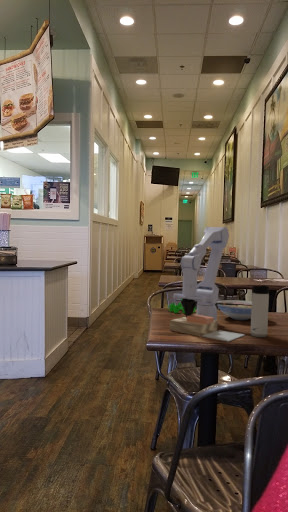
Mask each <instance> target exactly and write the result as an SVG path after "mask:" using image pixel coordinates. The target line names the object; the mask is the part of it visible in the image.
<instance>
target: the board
mask: <svg viewBox="0 0 288 512" xmlns="http://www.w3.org/2000/svg"><path fill="white" fill-rule="evenodd" d="M186 320H187V318H186V316H183V317H179V318H178V317H177V318H175V319H174V318H173V319H170V320H169V331H172V332H178V333H182V334H186V335H192V336H196V337H202V335H205V334H208V333H212V332H215V331H218V326H219V325H218V324H219V321H218V320H217V321H216V320H214V322H213V323H209V324H201V323H195V322H189V321H186Z"/></svg>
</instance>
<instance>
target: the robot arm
mask: <svg viewBox="0 0 288 512" xmlns="http://www.w3.org/2000/svg"><path fill="white" fill-rule="evenodd" d="M229 237H230V234H229V229H228V227H226V226H207V227H205V228H204V230H203V237H202V238H201V240H200V242H199V243H197V244H194V246H193V247H192V249H191V250H189V252H188V254H186V255H185V254H184V256H182V258H181V259H180V267H181V272H182V293H173V295H172V298H173V299H175V300H176V299H178V300H180V299H183V300H180V303H181V305H182V307H183V308H184V311H185V313H184V315H185V316H184V317H186V318H187V316H189V315H193V314H194V313H193V312H194V311H193V310H194V308H195V309H196V315H202V316H208V317H214V320H216V321H218V320H217V315H218V309H217V306H216V305H217V304H216V302H217V301H219V293H220V292H219V291H220V289H219V287H218V286H217V284H215V282H216V281H217V280H216V279H217V275H218V271H219V268H220V265H221V264H220V263H221V260H222V255H223V252H224V249H225V248H227V245H228V241H229ZM208 247H209V248H210V250H211V251H210V255H209V258H208V262H207V265H206V268H205V272H204V276H203V280H201V282H200V281H199V283H198V270H199V269H200V267H201V265H202V264H201V263H202V262H203V261H202V259H204V257H205V255H206V254H207V248H208ZM195 306H196V307H195Z"/></svg>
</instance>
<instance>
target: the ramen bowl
mask: <svg viewBox="0 0 288 512" xmlns="http://www.w3.org/2000/svg"><path fill="white" fill-rule="evenodd" d="M215 305H217V307H218V308H219V310H220V311H221V312H222V314H224V315H225V316H227V317H229V318H231V319H233V320H236V321H248V320H249V319H250V320H251V311H252V301H249V300H238V299H237V300H232V299H230V300H229V299H227V300H218V301H217V302H216V304H215ZM270 307H271V305H268V308H270Z"/></svg>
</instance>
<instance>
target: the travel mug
mask: <svg viewBox="0 0 288 512" xmlns="http://www.w3.org/2000/svg"><path fill="white" fill-rule="evenodd" d="M251 291H252V292H251V302H252V311H251V318H250V336H252V337H255V338H266V337H267V336H268V327H269V326H268V323H269V322H268V319H269V307H268V306H269V302H270V301H269V299H270V295H269V294H270V286H269V285H264V284H263V285H252V290H251Z"/></svg>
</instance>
